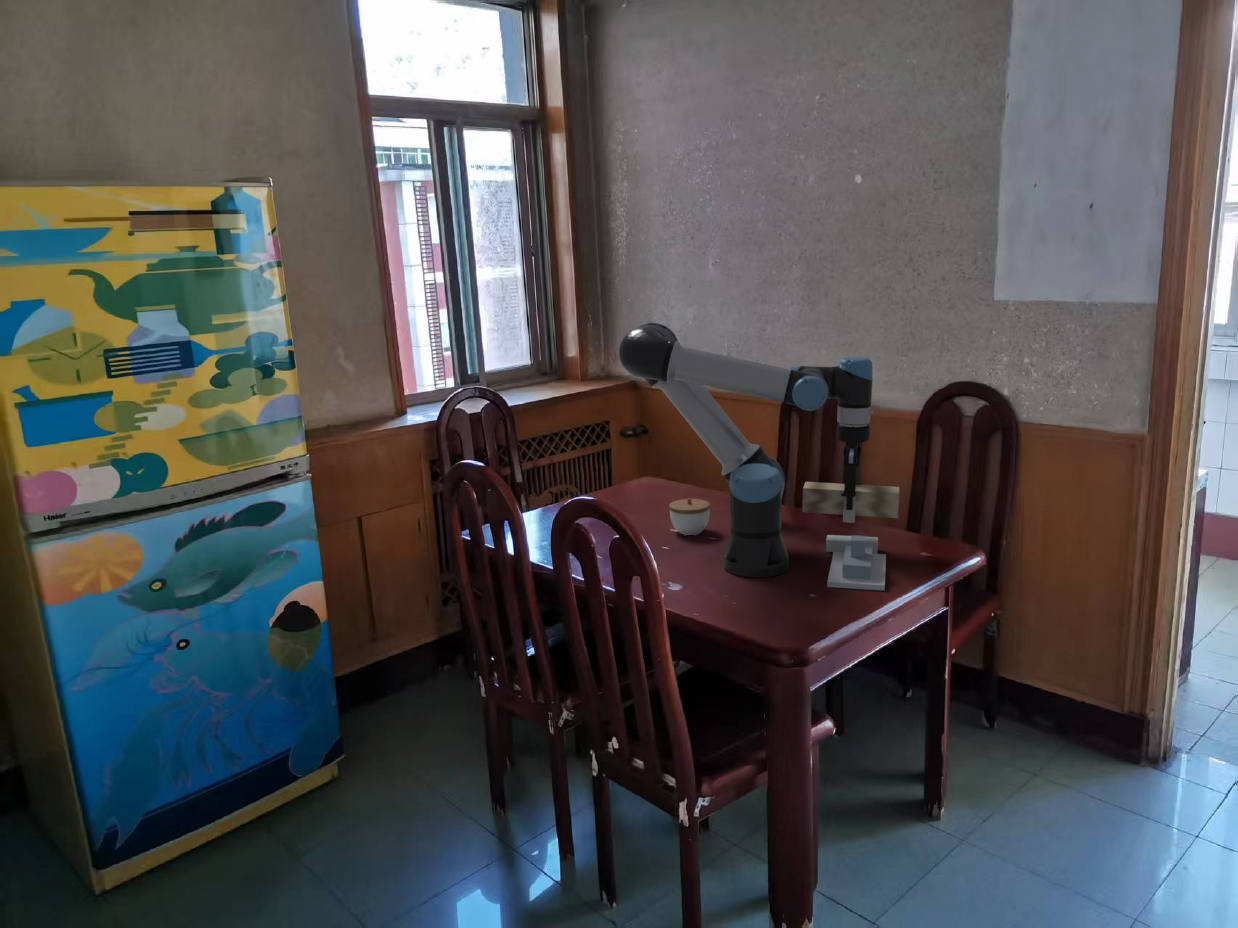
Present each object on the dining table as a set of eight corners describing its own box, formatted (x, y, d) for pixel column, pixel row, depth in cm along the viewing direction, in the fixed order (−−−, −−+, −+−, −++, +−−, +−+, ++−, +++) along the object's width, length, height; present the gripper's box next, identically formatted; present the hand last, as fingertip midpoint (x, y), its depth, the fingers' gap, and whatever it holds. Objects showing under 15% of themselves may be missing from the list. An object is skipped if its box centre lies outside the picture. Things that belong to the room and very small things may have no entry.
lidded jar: (709, 538, 228) (708, 503, 225) (668, 538, 229) (667, 504, 227) (711, 526, 238) (710, 492, 236) (672, 526, 240) (671, 492, 237)
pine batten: (802, 512, 212) (803, 488, 211) (804, 505, 218) (805, 481, 216) (897, 518, 206) (899, 493, 204) (897, 511, 211) (899, 486, 210)
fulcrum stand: (827, 586, 192) (827, 551, 190) (833, 556, 210) (833, 523, 208) (884, 590, 188) (885, 554, 186) (885, 559, 207) (886, 525, 205)
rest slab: (826, 551, 214) (826, 540, 213) (827, 546, 217) (827, 534, 217) (877, 554, 210) (877, 542, 209) (877, 549, 214) (878, 537, 213)
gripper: (868, 432, 196) (864, 531, 202) (871, 416, 214) (867, 507, 220) (834, 431, 199) (830, 528, 204) (839, 415, 216) (836, 505, 222)
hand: (849, 517), depth 212 cm, fingers closed on pine batten, 6 cm apart
